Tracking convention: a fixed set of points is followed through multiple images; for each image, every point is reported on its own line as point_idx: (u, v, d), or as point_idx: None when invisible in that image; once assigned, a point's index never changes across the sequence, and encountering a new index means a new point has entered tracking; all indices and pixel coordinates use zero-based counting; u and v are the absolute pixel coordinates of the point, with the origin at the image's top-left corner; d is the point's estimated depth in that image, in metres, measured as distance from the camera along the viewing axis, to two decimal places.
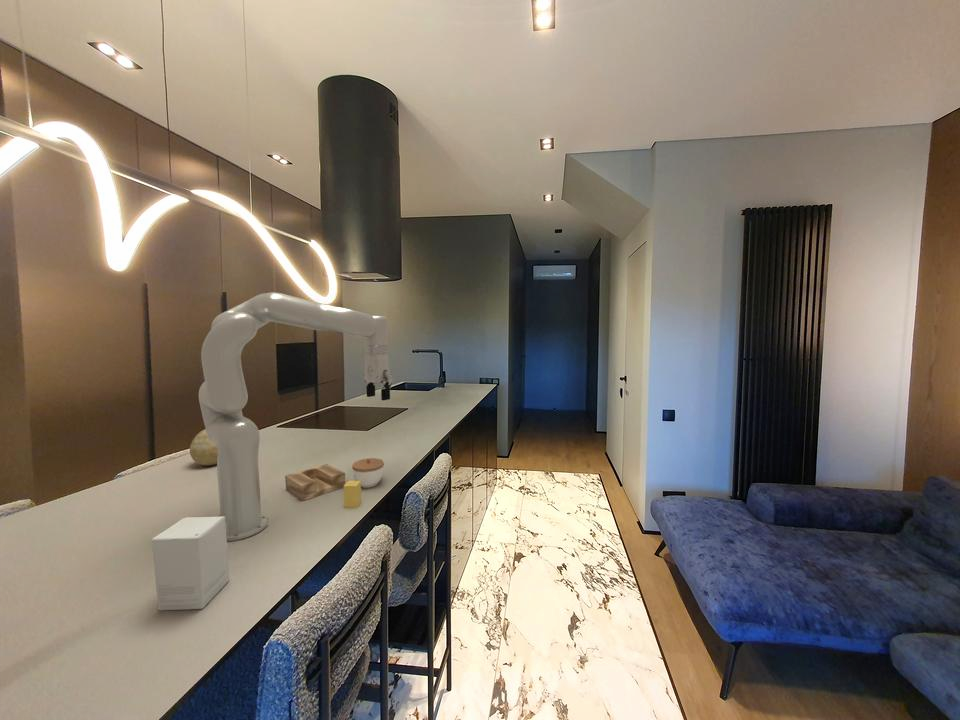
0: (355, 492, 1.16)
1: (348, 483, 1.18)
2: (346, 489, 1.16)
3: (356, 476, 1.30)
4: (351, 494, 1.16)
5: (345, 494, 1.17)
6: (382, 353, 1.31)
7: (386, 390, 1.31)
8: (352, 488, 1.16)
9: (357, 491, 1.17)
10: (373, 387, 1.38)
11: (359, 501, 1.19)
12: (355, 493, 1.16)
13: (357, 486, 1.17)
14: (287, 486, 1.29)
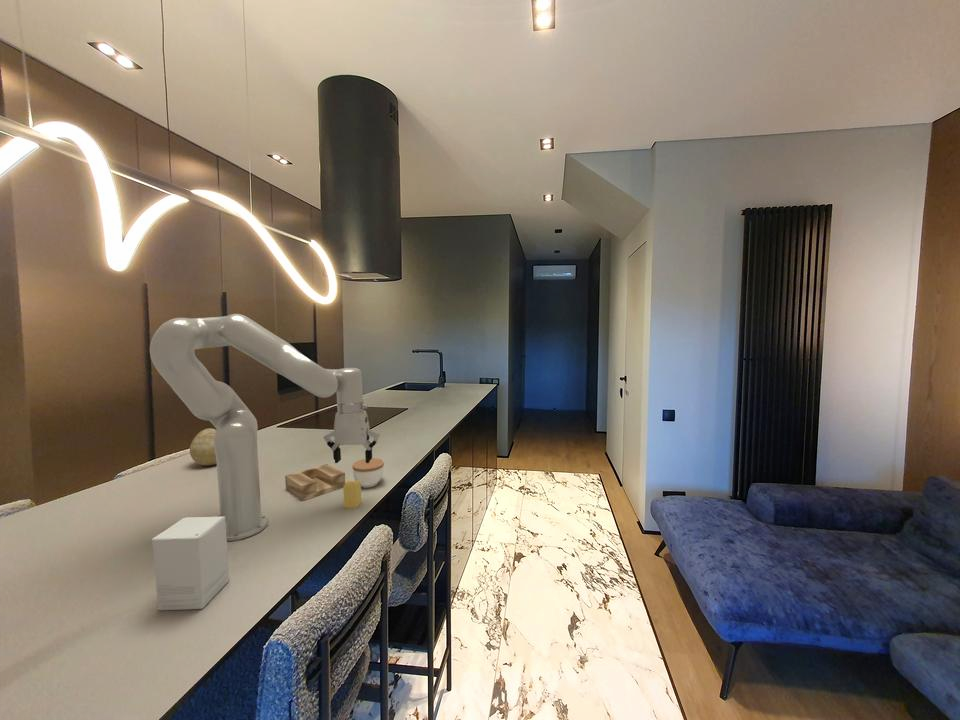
0: (355, 492, 1.16)
1: (348, 483, 1.18)
2: (346, 489, 1.16)
3: (356, 476, 1.30)
4: (351, 494, 1.16)
5: (345, 494, 1.17)
6: None
7: None
8: (352, 488, 1.16)
9: (357, 491, 1.17)
10: None
11: (359, 501, 1.19)
12: (355, 493, 1.16)
13: (357, 486, 1.17)
14: (287, 486, 1.29)
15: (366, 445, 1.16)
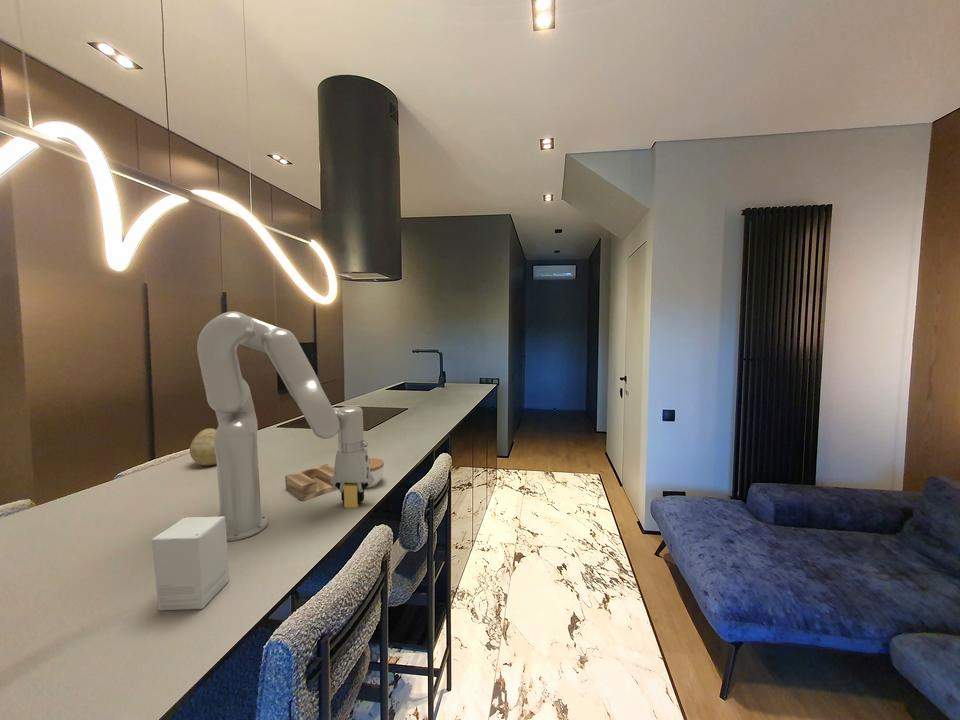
0: (355, 491, 1.16)
1: (348, 483, 1.18)
2: (346, 489, 1.16)
3: None
4: (351, 494, 1.16)
5: (345, 494, 1.17)
6: None
7: None
8: (352, 488, 1.16)
9: (357, 491, 1.17)
10: None
11: None
12: (355, 493, 1.16)
13: (357, 486, 1.17)
14: (287, 486, 1.29)
15: (360, 487, 1.17)
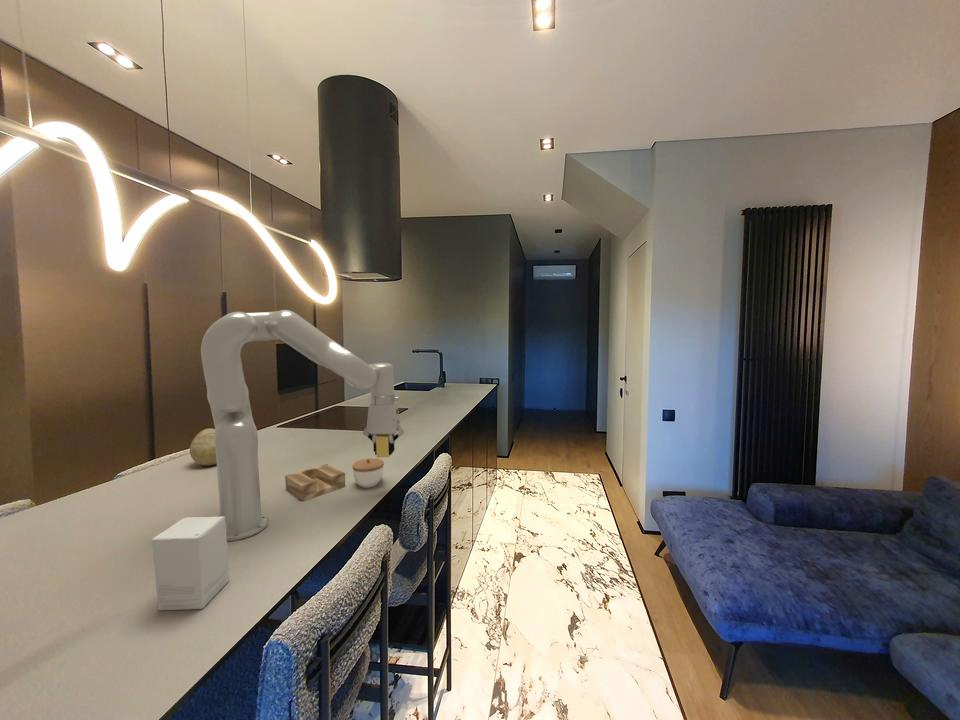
0: (387, 442, 1.24)
1: (380, 435, 1.26)
2: (378, 440, 1.24)
3: (356, 476, 1.30)
4: (383, 444, 1.25)
5: (377, 444, 1.25)
6: None
7: None
8: (384, 439, 1.24)
9: (388, 442, 1.25)
10: None
11: None
12: (387, 443, 1.25)
13: (388, 437, 1.25)
14: (287, 486, 1.29)
15: (391, 438, 1.25)
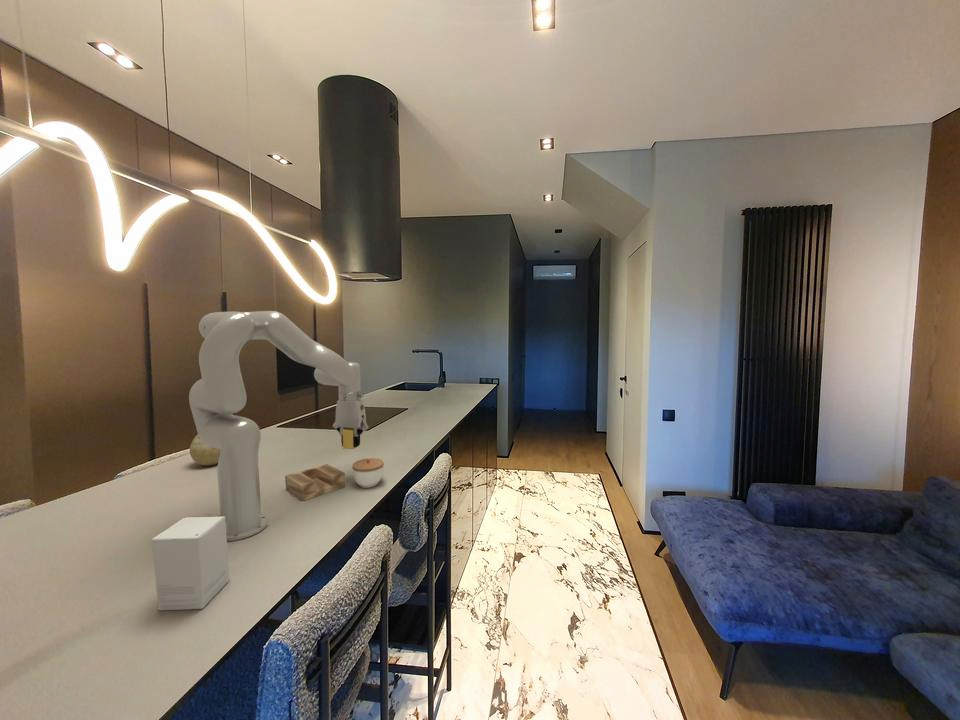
0: (351, 435, 1.35)
1: (347, 428, 1.37)
2: (344, 432, 1.35)
3: (356, 476, 1.30)
4: (348, 437, 1.35)
5: (344, 437, 1.36)
6: None
7: None
8: (349, 432, 1.35)
9: (354, 435, 1.36)
10: None
11: None
12: (351, 436, 1.35)
13: None
14: (287, 486, 1.29)
15: (355, 431, 1.35)
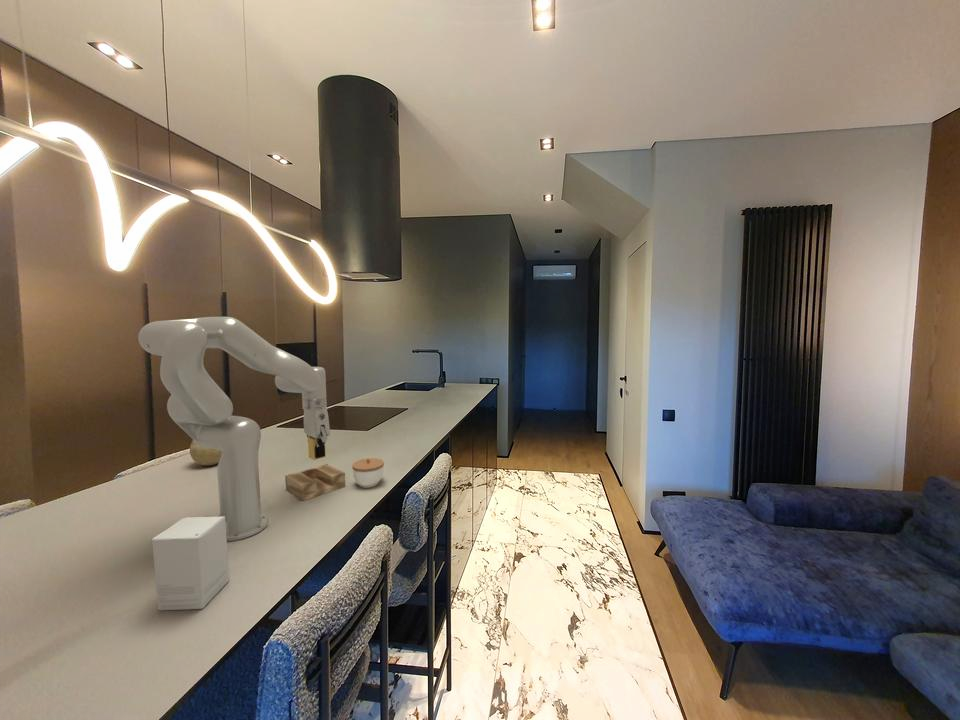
0: (313, 445, 1.26)
1: None
2: (309, 441, 1.28)
3: (356, 476, 1.30)
4: (311, 446, 1.27)
5: (309, 445, 1.28)
6: None
7: None
8: (311, 441, 1.27)
9: None
10: None
11: None
12: (313, 446, 1.26)
13: None
14: (287, 486, 1.29)
15: (316, 442, 1.26)
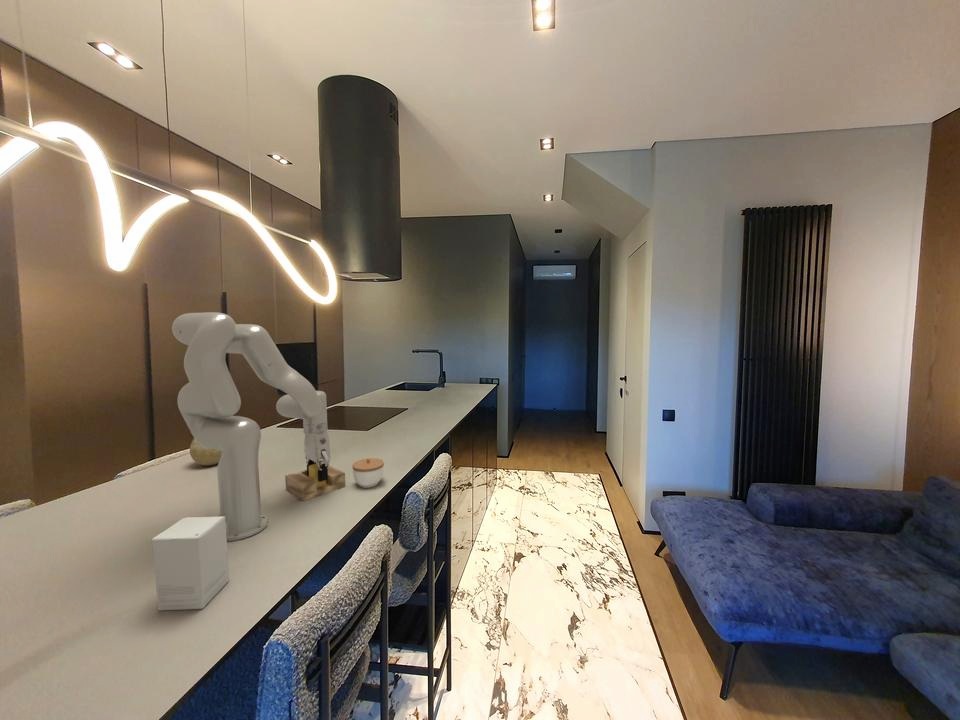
0: (313, 473, 1.27)
1: (315, 464, 1.30)
2: (309, 469, 1.29)
3: (356, 476, 1.30)
4: (312, 475, 1.28)
5: (309, 473, 1.29)
6: None
7: None
8: (312, 469, 1.28)
9: (317, 473, 1.28)
10: None
11: (322, 483, 1.29)
12: (313, 475, 1.27)
13: (317, 469, 1.28)
14: (287, 486, 1.29)
15: (318, 465, 1.25)
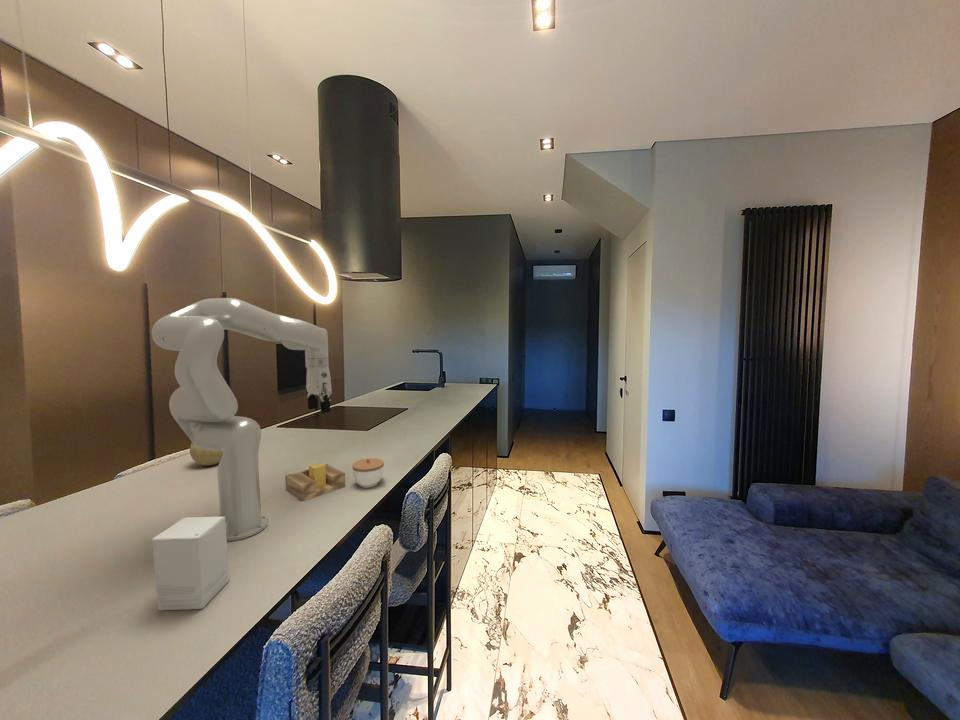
0: (313, 473, 1.27)
1: (315, 464, 1.30)
2: (309, 469, 1.29)
3: (356, 476, 1.30)
4: (312, 475, 1.28)
5: (309, 473, 1.29)
6: None
7: None
8: (312, 469, 1.28)
9: (317, 473, 1.28)
10: None
11: (322, 483, 1.29)
12: (313, 475, 1.27)
13: (317, 469, 1.28)
14: (287, 486, 1.29)
15: (321, 397, 1.30)
